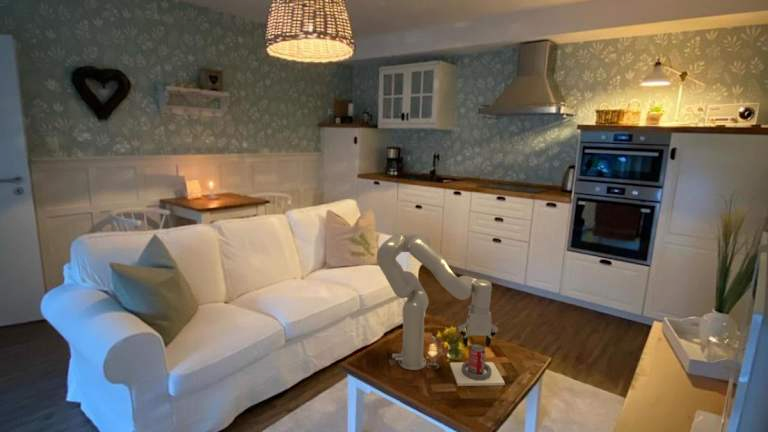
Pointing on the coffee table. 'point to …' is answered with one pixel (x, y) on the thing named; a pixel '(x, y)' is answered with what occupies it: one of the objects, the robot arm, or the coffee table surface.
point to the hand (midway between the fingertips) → (476, 345)
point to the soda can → (476, 359)
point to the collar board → (476, 383)
